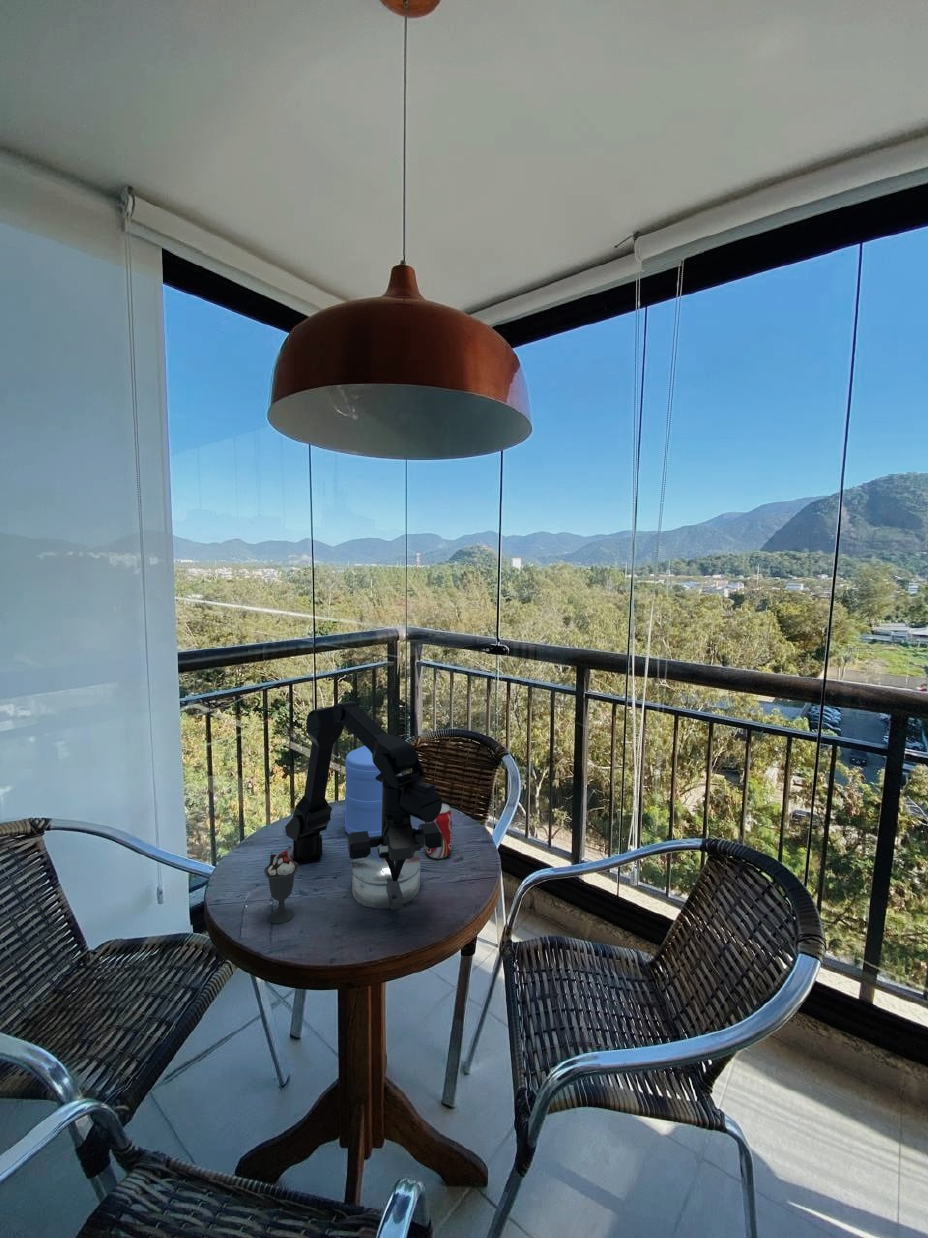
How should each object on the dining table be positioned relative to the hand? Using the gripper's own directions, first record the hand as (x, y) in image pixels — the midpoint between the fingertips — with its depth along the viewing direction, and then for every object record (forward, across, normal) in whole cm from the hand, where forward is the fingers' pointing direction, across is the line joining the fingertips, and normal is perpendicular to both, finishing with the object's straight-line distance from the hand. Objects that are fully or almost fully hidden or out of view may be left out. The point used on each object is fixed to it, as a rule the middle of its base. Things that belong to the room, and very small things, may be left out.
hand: (394, 880), depth 103 cm
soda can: (+8, +15, +21) cm, 27 cm away
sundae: (+8, -22, +6) cm, 24 cm away
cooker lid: (+3, 0, +7) cm, 8 cm away
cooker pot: (+8, 0, +8) cm, 11 cm away
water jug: (+8, +1, +39) cm, 40 cm away
